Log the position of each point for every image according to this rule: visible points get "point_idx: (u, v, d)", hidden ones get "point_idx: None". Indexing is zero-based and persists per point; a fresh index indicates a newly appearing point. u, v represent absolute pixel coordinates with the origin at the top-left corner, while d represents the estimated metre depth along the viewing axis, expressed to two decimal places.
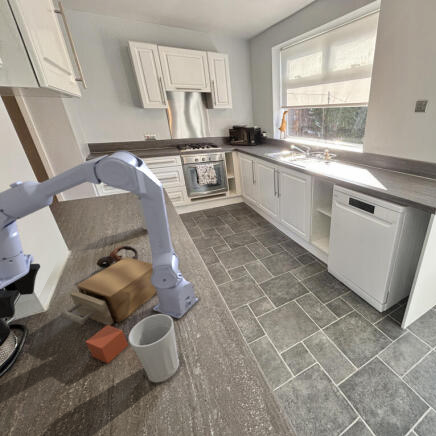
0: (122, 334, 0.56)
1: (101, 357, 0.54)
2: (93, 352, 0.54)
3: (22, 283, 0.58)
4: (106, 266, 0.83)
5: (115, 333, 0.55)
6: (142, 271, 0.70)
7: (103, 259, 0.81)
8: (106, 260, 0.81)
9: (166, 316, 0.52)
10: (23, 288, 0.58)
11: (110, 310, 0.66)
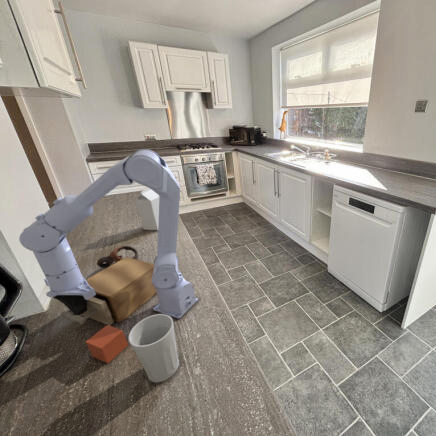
0: (122, 334, 0.56)
1: (101, 357, 0.54)
2: (93, 352, 0.54)
3: None
4: (106, 266, 0.83)
5: (115, 333, 0.55)
6: (142, 271, 0.70)
7: (103, 259, 0.81)
8: (106, 260, 0.81)
9: (166, 316, 0.52)
10: None
11: (110, 310, 0.66)
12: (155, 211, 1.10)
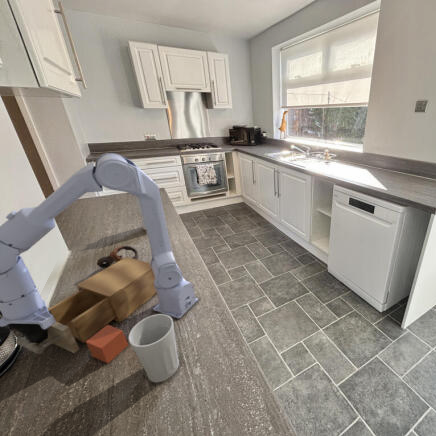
0: (122, 334, 0.56)
1: (101, 357, 0.54)
2: (93, 352, 0.54)
3: None
4: (106, 266, 0.83)
5: (115, 333, 0.55)
6: (142, 271, 0.70)
7: (103, 259, 0.81)
8: (106, 260, 0.81)
9: (166, 316, 0.52)
10: None
11: (77, 334, 0.58)
12: None
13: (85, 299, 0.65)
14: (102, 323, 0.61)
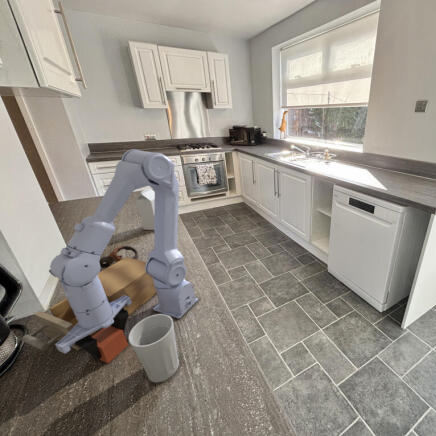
0: (122, 334, 0.56)
1: (101, 357, 0.54)
2: None
3: None
4: (106, 266, 0.83)
5: (115, 333, 0.55)
6: (142, 271, 0.70)
7: (103, 259, 0.81)
8: (106, 260, 0.81)
9: (166, 316, 0.52)
10: None
11: None
12: None
13: None
14: None
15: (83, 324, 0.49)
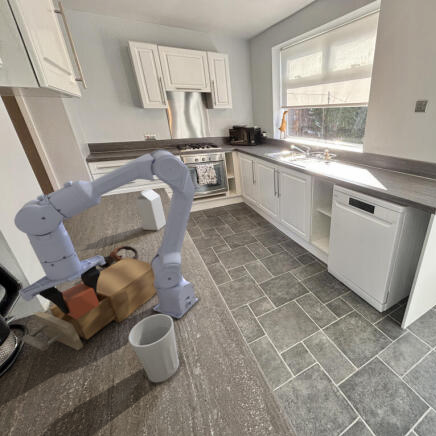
0: (92, 292, 0.56)
1: None
2: None
3: None
4: (106, 266, 0.83)
5: (85, 290, 0.55)
6: (142, 271, 0.70)
7: None
8: (106, 260, 0.81)
9: (166, 316, 0.52)
10: None
11: (81, 331, 0.59)
12: (155, 211, 1.10)
13: None
14: (105, 321, 0.62)
15: (49, 276, 0.50)
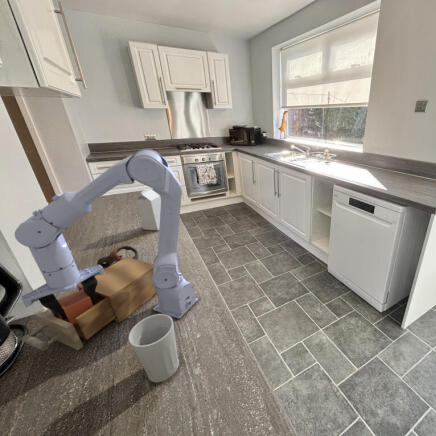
0: (89, 301, 0.59)
1: (67, 318, 0.58)
2: None
3: None
4: (106, 266, 0.83)
5: (82, 298, 0.58)
6: (142, 271, 0.70)
7: (103, 259, 0.81)
8: (106, 260, 0.81)
9: (166, 316, 0.52)
10: None
11: (81, 331, 0.59)
12: (155, 211, 1.10)
13: None
14: (105, 321, 0.62)
15: (48, 284, 0.53)
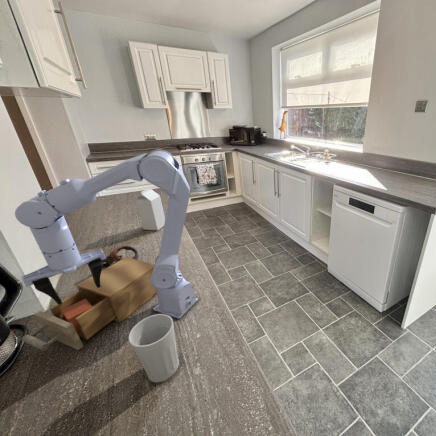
0: None
1: None
2: (67, 321, 0.60)
3: (55, 291, 0.56)
4: (106, 266, 0.83)
5: (85, 308, 0.60)
6: (142, 271, 0.70)
7: (103, 259, 0.81)
8: (106, 260, 0.81)
9: (166, 316, 0.52)
10: (58, 296, 0.57)
11: (81, 331, 0.59)
12: (155, 211, 1.10)
13: (88, 297, 0.66)
14: (105, 321, 0.62)
15: (48, 265, 0.54)
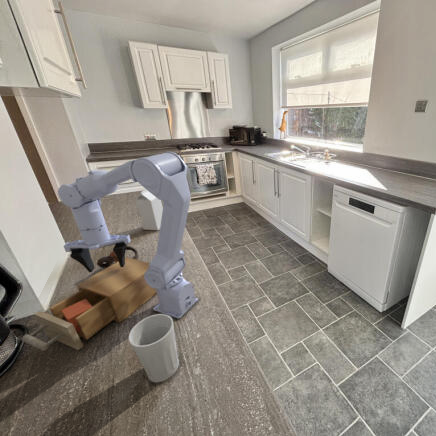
0: None
1: None
2: (67, 321, 0.60)
3: (88, 261, 0.67)
4: (106, 266, 0.83)
5: (85, 308, 0.60)
6: (142, 271, 0.70)
7: (103, 259, 0.81)
8: (106, 260, 0.81)
9: (166, 316, 0.52)
10: (90, 265, 0.67)
11: (81, 331, 0.59)
12: (155, 211, 1.10)
13: (88, 297, 0.66)
14: (105, 321, 0.62)
15: None
